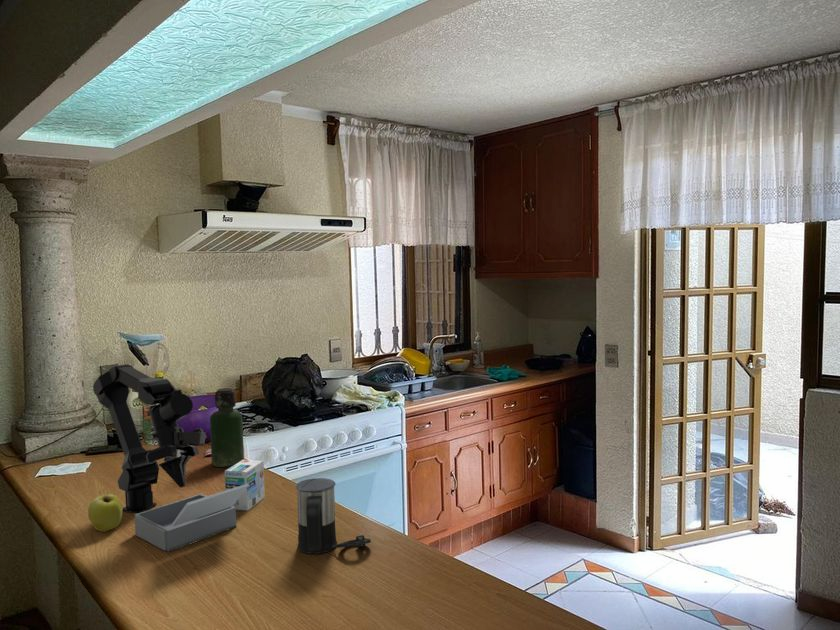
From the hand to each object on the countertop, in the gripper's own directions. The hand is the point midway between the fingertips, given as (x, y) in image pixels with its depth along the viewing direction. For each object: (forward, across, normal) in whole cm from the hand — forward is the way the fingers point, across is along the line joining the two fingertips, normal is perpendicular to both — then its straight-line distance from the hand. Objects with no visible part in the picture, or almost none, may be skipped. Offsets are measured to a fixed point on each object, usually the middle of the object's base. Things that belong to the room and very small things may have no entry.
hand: (182, 486), depth 157 cm
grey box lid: (+8, -4, -4) cm, 10 cm away
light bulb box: (+9, +20, -8) cm, 23 cm away
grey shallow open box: (+10, +2, +3) cm, 11 cm away
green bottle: (-6, +55, +4) cm, 55 cm away
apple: (+3, +3, +22) cm, 23 cm away
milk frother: (+26, -8, -32) cm, 42 cm away
